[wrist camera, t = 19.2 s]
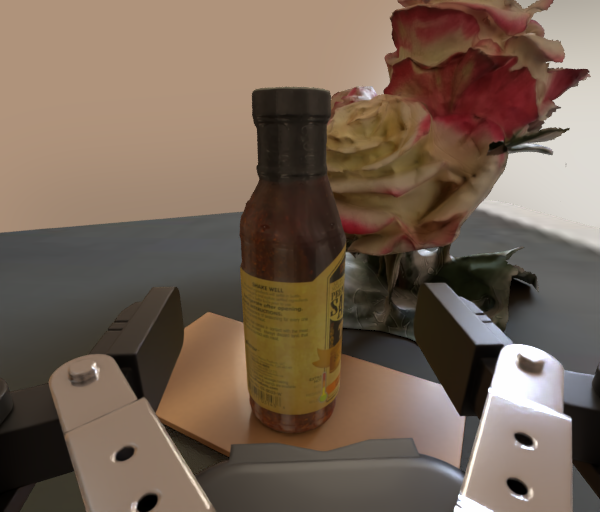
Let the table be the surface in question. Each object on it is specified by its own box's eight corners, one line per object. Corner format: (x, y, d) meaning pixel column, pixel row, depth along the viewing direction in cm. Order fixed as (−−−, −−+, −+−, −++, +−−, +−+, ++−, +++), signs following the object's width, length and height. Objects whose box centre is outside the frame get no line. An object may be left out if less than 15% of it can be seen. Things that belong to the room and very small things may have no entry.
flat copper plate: (100, 392, 27) (98, 386, 27) (208, 316, 37) (208, 311, 37) (446, 568, 17) (448, 562, 17) (467, 398, 27) (468, 392, 26)
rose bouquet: (326, 237, 59) (335, 21, 48) (536, 276, 46) (615, -8, 35) (222, 306, 39) (194, -46, 27) (548, 412, 25) (754, -180, 14)
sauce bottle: (349, 433, 23) (377, 85, 16) (248, 445, 22) (228, 82, 15) (326, 366, 29) (339, 91, 22) (246, 373, 28) (231, 89, 21)
